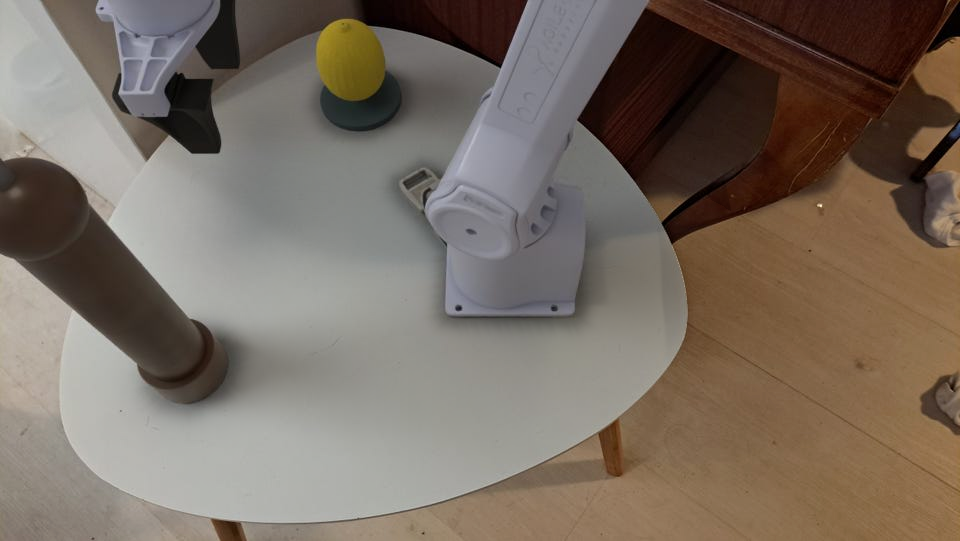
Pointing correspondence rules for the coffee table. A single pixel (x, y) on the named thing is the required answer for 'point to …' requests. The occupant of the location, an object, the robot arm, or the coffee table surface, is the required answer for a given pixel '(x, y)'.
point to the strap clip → (420, 191)
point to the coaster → (363, 107)
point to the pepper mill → (103, 279)
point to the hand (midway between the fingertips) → (216, 106)
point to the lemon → (350, 59)
